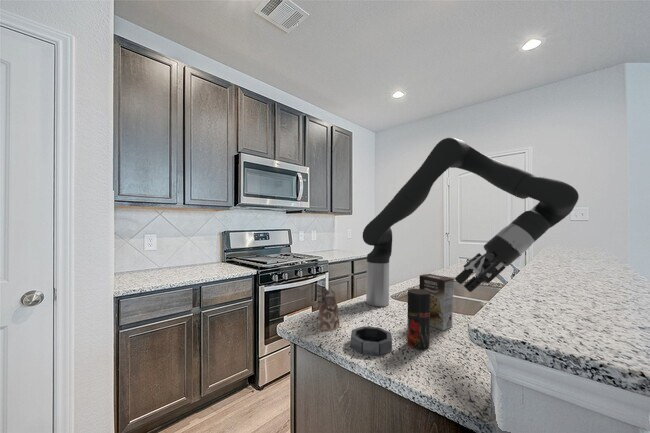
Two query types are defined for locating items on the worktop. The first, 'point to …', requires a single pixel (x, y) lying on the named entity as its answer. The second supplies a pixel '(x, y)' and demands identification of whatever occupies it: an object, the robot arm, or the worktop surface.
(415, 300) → the deodorant
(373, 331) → the collar ring
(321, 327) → the figurine
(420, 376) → the worktop surface
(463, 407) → the worktop surface
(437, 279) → the coffee box
